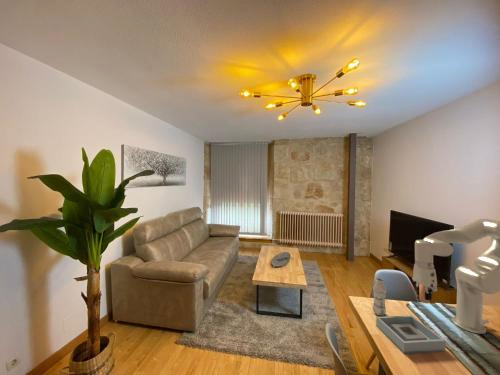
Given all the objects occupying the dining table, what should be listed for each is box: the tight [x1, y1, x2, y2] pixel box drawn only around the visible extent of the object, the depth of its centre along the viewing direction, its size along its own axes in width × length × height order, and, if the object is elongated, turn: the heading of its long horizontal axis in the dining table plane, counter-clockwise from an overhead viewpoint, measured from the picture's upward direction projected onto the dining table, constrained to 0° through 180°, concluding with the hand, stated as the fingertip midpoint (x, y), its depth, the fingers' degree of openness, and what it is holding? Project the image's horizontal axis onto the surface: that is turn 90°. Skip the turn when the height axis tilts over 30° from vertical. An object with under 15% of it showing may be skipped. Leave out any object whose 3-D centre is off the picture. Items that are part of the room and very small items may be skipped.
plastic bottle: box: [372, 278, 387, 317], centre depth 122 cm, size 6×7×20 cm
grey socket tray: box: [375, 314, 446, 355], centre depth 103 cm, size 20×18×5 cm
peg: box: [418, 283, 430, 304], centre depth 113 cm, size 4×4×10 cm
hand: (424, 296), depth 113 cm, fingers closed on peg, 4 cm apart
